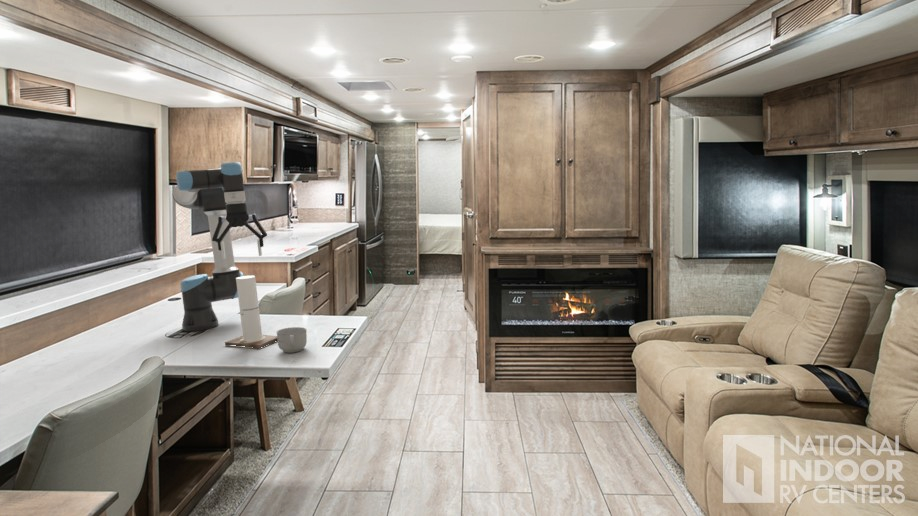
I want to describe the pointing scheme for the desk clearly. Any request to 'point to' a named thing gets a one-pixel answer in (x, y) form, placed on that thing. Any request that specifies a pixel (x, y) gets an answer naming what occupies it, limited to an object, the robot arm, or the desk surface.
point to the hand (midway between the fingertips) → (242, 257)
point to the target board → (255, 344)
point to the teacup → (292, 339)
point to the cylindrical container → (249, 308)
